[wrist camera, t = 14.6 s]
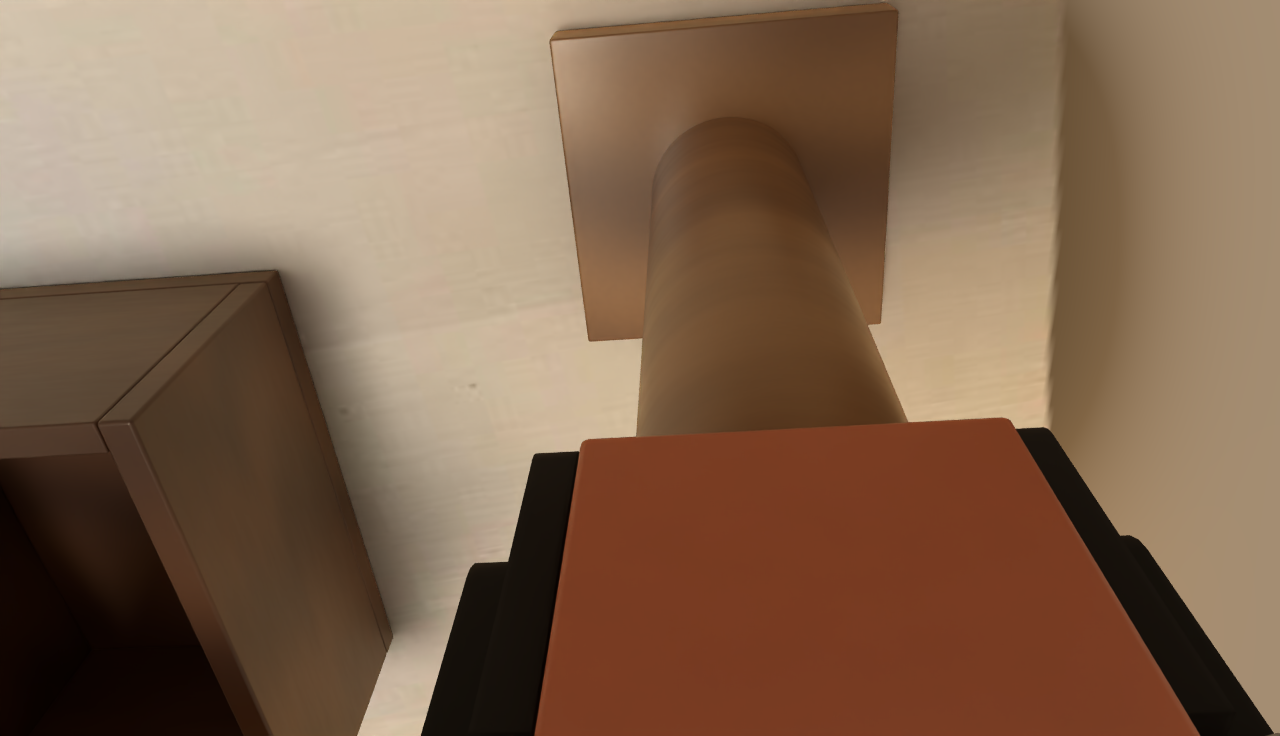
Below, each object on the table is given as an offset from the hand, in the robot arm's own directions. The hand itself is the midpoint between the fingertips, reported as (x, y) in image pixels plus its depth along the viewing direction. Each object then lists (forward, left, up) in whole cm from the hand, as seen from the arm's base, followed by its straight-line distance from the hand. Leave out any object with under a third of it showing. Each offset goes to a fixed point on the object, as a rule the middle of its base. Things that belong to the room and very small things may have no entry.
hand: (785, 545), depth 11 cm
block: (0, 0, +1) cm, 1 cm away
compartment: (+9, -18, -14) cm, 25 cm away
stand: (0, 0, -14) cm, 14 cm away
